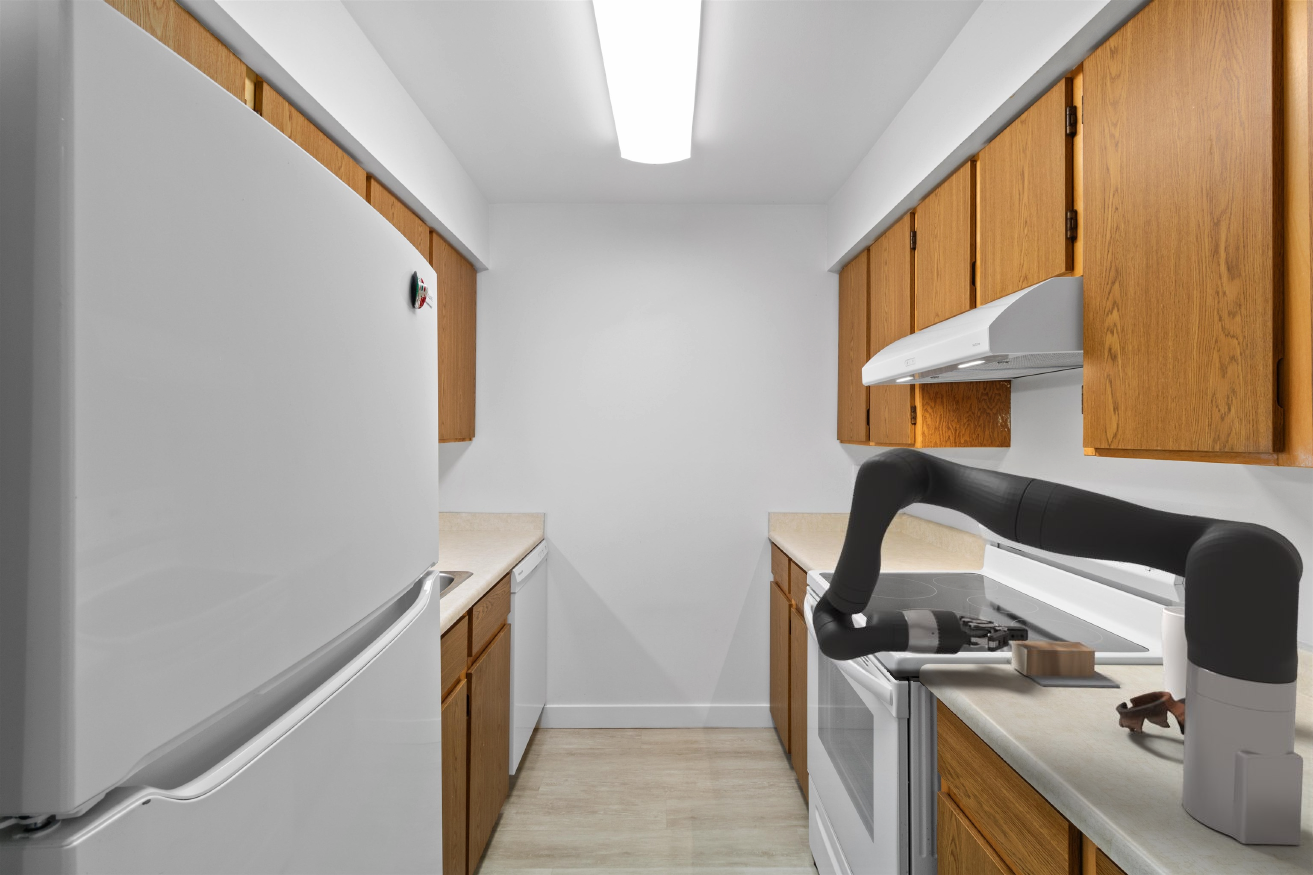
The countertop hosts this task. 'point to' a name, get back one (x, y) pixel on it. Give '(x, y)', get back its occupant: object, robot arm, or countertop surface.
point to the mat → (1074, 680)
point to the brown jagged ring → (1151, 711)
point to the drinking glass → (1174, 651)
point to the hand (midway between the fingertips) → (1025, 633)
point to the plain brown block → (1053, 658)
